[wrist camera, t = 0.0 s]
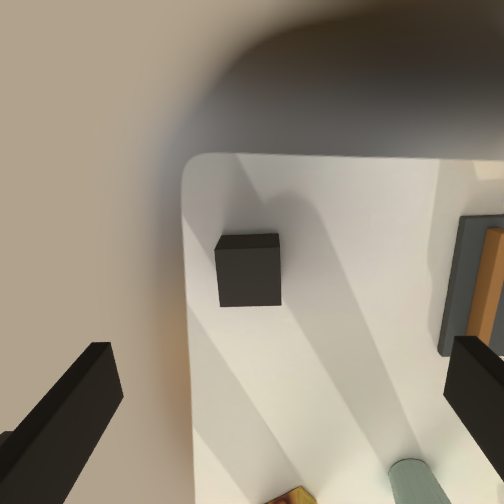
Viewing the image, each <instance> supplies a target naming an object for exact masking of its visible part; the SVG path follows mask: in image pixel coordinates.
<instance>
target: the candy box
mask: <svg viewBox="0 0 504 504" xmlns="http://www.w3.org/2000/svg"><path fill="white" fill-rule="evenodd" d="M268 504H317V501H316V500H315V499H314V498H313V497H312V496H311V495H309V494H308V493H307V492H306V491H305V490H304V489H303V488H302V487H298V488H296V489H294V490H292V491H290V492H289V493H287V494H285V495H283V496H281V497H279V498H277V499H275V500H273V501H272V502H270V503H268Z"/></svg>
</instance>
